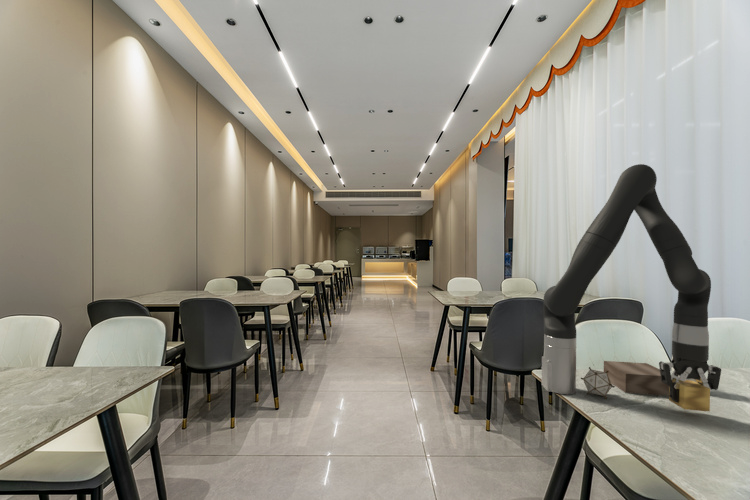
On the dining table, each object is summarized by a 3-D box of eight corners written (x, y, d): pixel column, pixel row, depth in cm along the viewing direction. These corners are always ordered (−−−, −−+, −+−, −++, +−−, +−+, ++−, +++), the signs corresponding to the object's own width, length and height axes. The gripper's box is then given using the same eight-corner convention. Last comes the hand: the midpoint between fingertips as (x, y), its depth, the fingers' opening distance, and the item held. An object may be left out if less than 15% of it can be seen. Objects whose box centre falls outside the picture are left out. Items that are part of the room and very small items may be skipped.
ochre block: (684, 409, 94) (684, 386, 94) (669, 400, 100) (669, 378, 100) (709, 411, 93) (710, 388, 93) (692, 402, 99) (693, 380, 99)
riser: (625, 392, 112) (625, 373, 112) (603, 377, 126) (603, 360, 126) (674, 396, 110) (674, 376, 110) (646, 380, 123) (646, 363, 124)
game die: (590, 405, 111) (573, 373, 116) (618, 398, 109) (600, 366, 115) (594, 400, 104) (576, 366, 109) (624, 392, 102) (605, 359, 108)
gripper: (669, 342, 94) (668, 405, 94) (731, 346, 92) (730, 411, 92) (652, 336, 101) (651, 394, 101) (709, 339, 99) (707, 399, 99)
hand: (688, 402), depth 96 cm, fingers closed on ochre block, 6 cm apart
